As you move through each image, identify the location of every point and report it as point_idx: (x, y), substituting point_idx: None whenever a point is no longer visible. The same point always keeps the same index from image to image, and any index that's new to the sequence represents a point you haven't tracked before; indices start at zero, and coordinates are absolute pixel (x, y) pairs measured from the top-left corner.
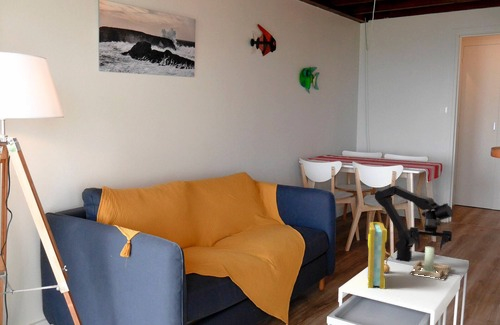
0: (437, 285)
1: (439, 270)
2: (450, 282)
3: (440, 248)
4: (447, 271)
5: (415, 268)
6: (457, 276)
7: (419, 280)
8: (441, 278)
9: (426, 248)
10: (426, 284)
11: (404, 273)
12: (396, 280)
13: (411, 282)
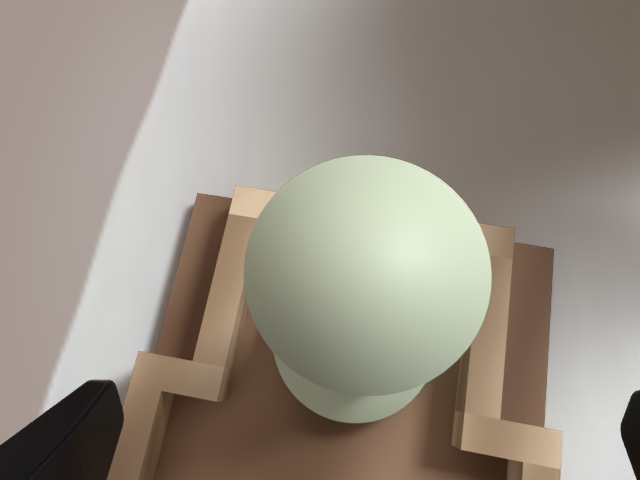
0: (273, 40)
1: (226, 350)
2: (151, 167)
3: (82, 395)
4: (132, 390)
5: (519, 422)
6: (43, 410)
7: (430, 107)
8: (225, 197)
9: (445, 192)
10: (364, 28)
11: (607, 274)
12: (626, 25)
13: (491, 26)
